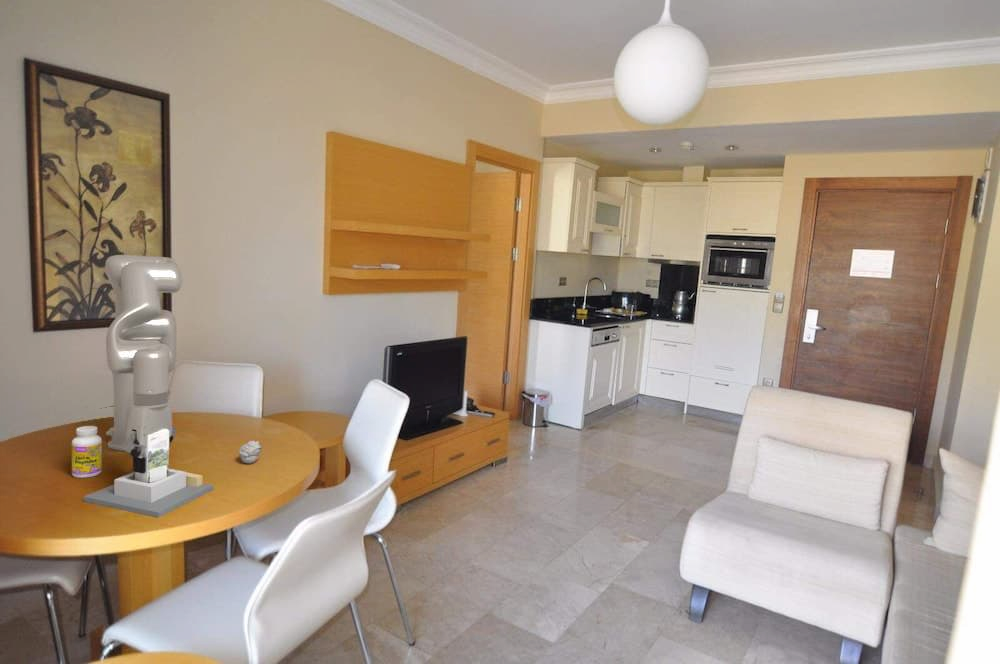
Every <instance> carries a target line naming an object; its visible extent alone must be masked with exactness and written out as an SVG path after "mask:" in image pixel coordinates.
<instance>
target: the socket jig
mask: <svg viewBox="0 0 1000 664" xmlns="http://www.w3.org/2000/svg"><path fill="white" fill-rule="evenodd" d="M113 482H114V484H111V485H109V486H107V487H104V488H101V489H99V490H96V491H94V492H92V493H89V494H86V495H85V496H83V502H85V503H89V504H95V505H99V506H104V507H108V508H114V509H118V510H122V511H127V512H131V513H137V514H142V515H144V516H151V517H153V518H154V517H155V518H160V517H162V516H164V515H166V514H168V513H170V512H172V511H174V510H176V509H178V508H180V507H182V506H184V505H186V504H188V503H190V502H191V501H194V500H195V499H198V498H199V497H201V496H204V495H206V494H207V493H209V492H211V491H214V485H213V484H208V483H204V482H203V475H201V474H197V473H191V472H188V471H187V472H186V471H185V470H184V471H183V470H178V469H173V468H169V471H168V477H166V478H164V479H161V480H159V481H157V482H154V483H152V484H149V483H144V482H139V481H134V480H133V472H130V473H127V474H125V475H122V476H120V477H118V478H115V479H114V481H113Z"/></svg>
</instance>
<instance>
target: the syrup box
mask: <svg viewBox="0 0 1000 664" xmlns="http://www.w3.org/2000/svg"><path fill="white" fill-rule="evenodd" d="M140 448H141V447H139V448H138V450H137V451H138V452H139V451H140ZM143 457H145V458H146V471H145V473H138V472H134V471H133V470H132V471H133V472H132V473H133V480H134V481H139V482H144V483H149V484H152V483H154V482H157V481H159V480H161V479H164V478H166V477H168V471H169V469H170V468H169V463H170V459H169V458H170V448H169V430H168V429H164V430H161V431H159V432H156V433H153V434H150V435H148V440H147V446H145V453H144V456H143Z"/></svg>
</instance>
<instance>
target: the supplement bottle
mask: <svg viewBox="0 0 1000 664" xmlns="http://www.w3.org/2000/svg"><path fill="white" fill-rule="evenodd" d="M97 433H98V426H96V425H85V426H79V427H77V428H76V430H75V434H76V437H74V438H73V439H72V441H71V475H72V476H73V477H74V478H79V479H83V478H93V477H96V476H99V474H101V473H102V469H103V468H102V467H103V462H102V461H103V459H102V458H103V452H102V451H103V450H102V449H103V439H102V437H101V436H100V435H97Z"/></svg>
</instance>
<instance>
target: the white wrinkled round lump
mask: <svg viewBox="0 0 1000 664" xmlns="http://www.w3.org/2000/svg"><path fill="white" fill-rule="evenodd" d="M262 450H263V448H262V446H261V445H260V442H259V441H258V440H256V441H255V440H249V441H247V443H245V444H242V445H241V446H240V447H239V450H238V456H239V458H240V459H241V461H242V462H243V463H244V464H253V463H255V462H256V461H257V460H258V458H259V456H260V453H261V452H262Z"/></svg>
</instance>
